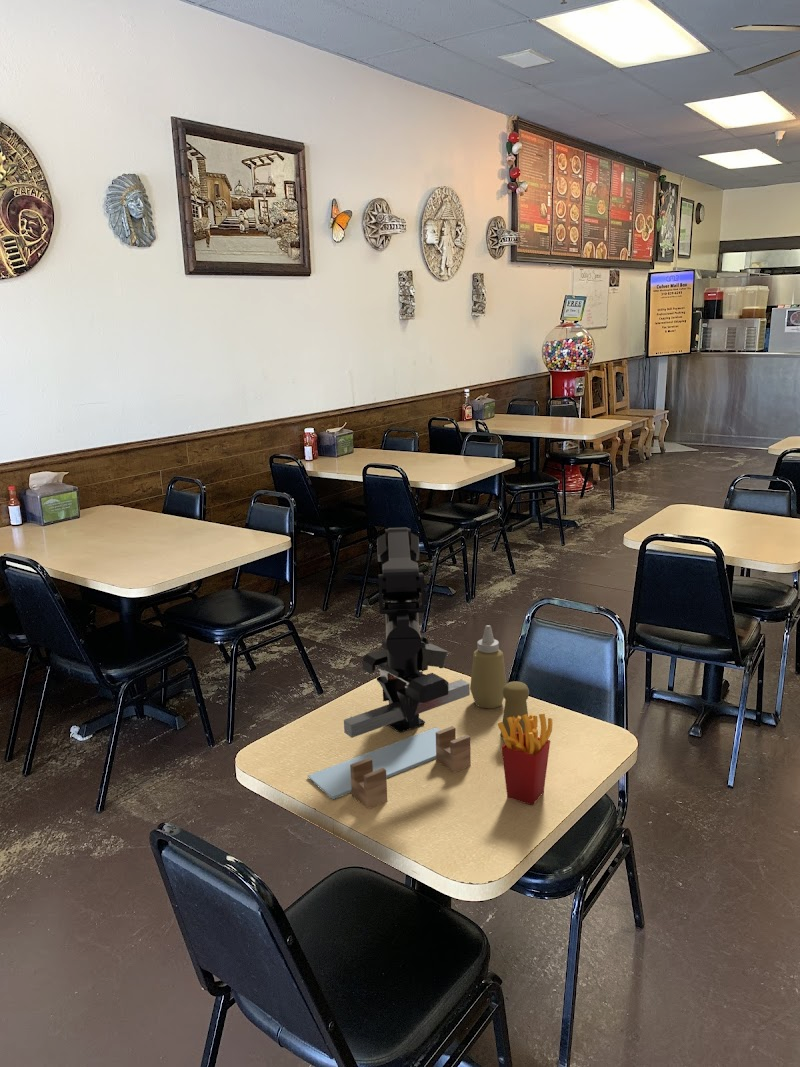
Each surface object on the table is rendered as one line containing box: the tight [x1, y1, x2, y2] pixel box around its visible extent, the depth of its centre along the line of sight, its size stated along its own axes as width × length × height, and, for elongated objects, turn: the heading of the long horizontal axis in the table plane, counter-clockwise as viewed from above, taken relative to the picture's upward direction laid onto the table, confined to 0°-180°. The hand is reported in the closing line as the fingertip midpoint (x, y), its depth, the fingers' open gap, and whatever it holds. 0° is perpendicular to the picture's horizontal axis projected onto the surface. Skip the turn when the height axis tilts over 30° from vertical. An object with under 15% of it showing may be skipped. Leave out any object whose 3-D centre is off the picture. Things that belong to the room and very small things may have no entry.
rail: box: [343, 679, 471, 739], centre depth 143 cm, size 26×2×2 cm, turn 125°
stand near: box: [350, 758, 388, 810], centre depth 140 cm, size 5×4×6 cm
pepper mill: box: [500, 680, 530, 738], centre depth 160 cm, size 6×6×11 cm
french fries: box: [497, 713, 553, 806], centre depth 140 cm, size 9×8×15 cm
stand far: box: [435, 725, 472, 773], centre depth 151 cm, size 5×4×6 cm
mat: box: [307, 727, 441, 801], centre depth 153 cm, size 9×30×1 cm, turn 125°
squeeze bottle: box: [470, 624, 507, 709], centre depth 173 cm, size 8×8×18 cm
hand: (405, 718), depth 143 cm, fingers closed on rail, 2 cm apart
